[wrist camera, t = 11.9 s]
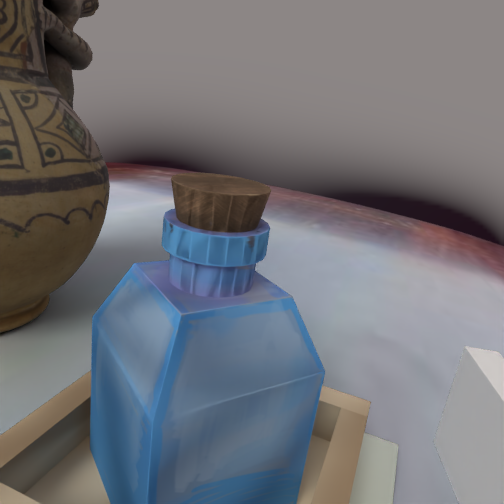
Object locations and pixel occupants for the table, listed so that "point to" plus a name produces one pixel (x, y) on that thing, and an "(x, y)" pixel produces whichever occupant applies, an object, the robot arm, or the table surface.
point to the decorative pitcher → (44, 156)
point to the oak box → (88, 478)
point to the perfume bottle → (203, 362)
